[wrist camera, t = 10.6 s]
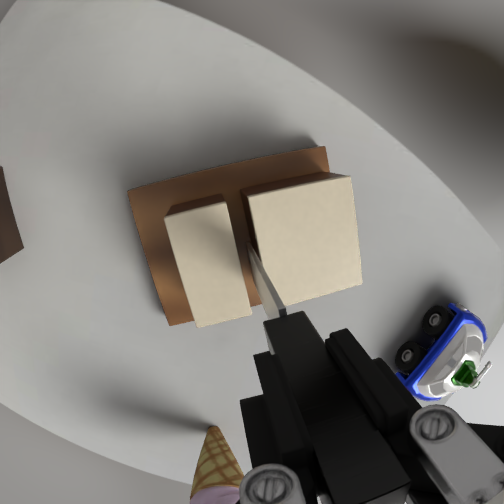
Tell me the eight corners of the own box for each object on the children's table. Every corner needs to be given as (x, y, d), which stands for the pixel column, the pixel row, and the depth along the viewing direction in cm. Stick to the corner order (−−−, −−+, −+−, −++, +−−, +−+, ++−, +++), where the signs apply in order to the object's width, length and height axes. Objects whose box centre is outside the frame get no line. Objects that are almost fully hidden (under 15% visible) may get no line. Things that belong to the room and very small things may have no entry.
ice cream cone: (250, 416, 34) (276, 527, 20) (238, 448, 35) (257, 549, 21) (192, 410, 32) (197, 527, 18) (184, 443, 34) (188, 549, 20)
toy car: (473, 317, 35) (519, 351, 26) (419, 388, 37) (455, 431, 28) (442, 288, 33) (496, 324, 24) (380, 370, 35) (420, 421, 26)
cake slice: (170, 205, 24) (163, 218, 20) (221, 193, 25) (226, 202, 20) (197, 298, 27) (196, 328, 22) (243, 287, 27) (252, 314, 23)
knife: (234, 244, 21) (336, 506, 4) (258, 238, 21) (416, 473, 4) (244, 285, 22) (337, 548, 5) (267, 280, 22) (396, 525, 5)
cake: (239, 188, 25) (248, 197, 20) (324, 171, 25) (350, 175, 21) (259, 282, 27) (271, 309, 23) (337, 262, 28) (362, 283, 23)
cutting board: (130, 189, 25) (126, 191, 24) (319, 146, 26) (325, 146, 25) (170, 318, 29) (169, 326, 27) (338, 275, 30) (344, 281, 29)
